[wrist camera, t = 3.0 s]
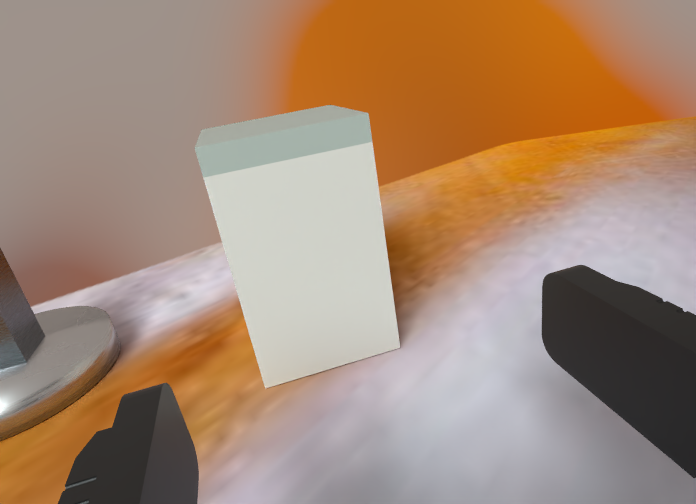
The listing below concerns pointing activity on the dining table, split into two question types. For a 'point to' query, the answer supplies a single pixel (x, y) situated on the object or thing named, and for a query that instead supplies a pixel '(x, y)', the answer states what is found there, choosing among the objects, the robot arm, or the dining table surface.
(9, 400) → the grey post on dish
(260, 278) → the pale green block
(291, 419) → the dining table surface
